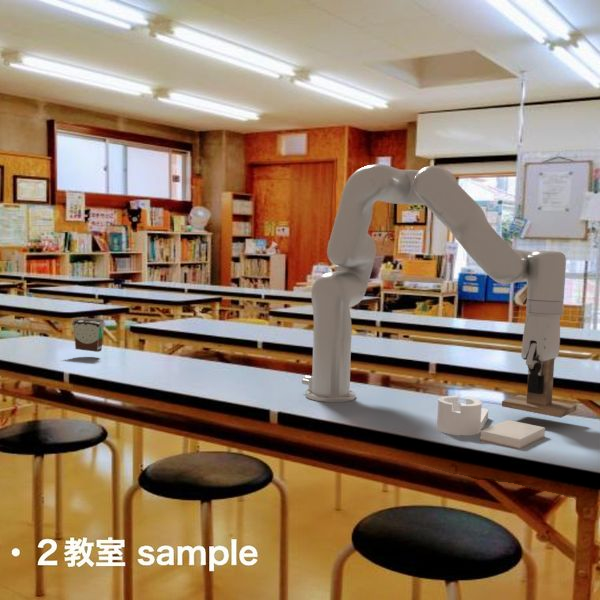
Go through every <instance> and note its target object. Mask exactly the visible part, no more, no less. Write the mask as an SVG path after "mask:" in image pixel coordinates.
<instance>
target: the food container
mask: <svg viewBox="0 0 600 600" xmlns="http://www.w3.org/2000/svg"><path fill="white" fill-rule="evenodd" d="M71 326H73V334H74V347H75V349H74V350H78V351H79V350H81V351H87V352H88V351H89V352H94V353H99V352H102V347H103V337H104V329H105V328H106V327H107V326H106V322H105V320H104V319H103V318H102V319H101V318H87V317H86V318H73V319H72V324H71Z"/></svg>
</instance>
